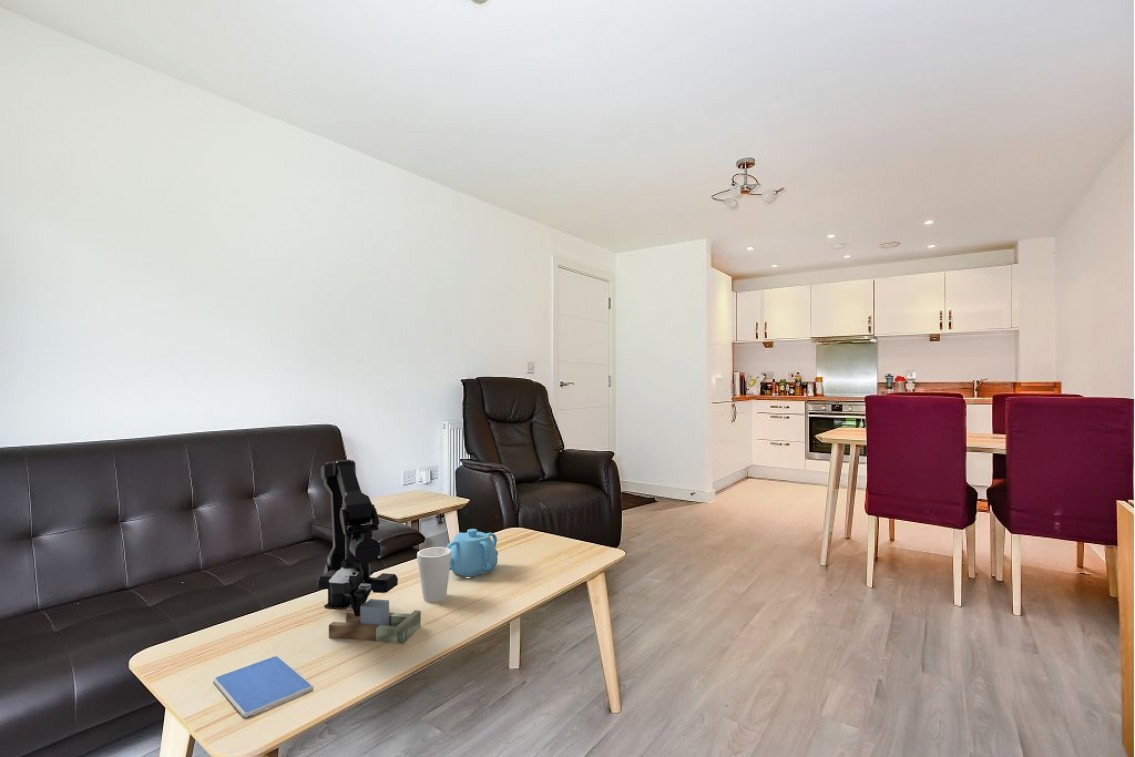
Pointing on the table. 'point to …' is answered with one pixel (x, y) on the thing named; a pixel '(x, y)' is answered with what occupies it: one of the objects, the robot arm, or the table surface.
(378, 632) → the u-shaped frame
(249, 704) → the tablet computer
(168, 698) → the table surface
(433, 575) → the foam cup
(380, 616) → the block
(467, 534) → the decorative pot
